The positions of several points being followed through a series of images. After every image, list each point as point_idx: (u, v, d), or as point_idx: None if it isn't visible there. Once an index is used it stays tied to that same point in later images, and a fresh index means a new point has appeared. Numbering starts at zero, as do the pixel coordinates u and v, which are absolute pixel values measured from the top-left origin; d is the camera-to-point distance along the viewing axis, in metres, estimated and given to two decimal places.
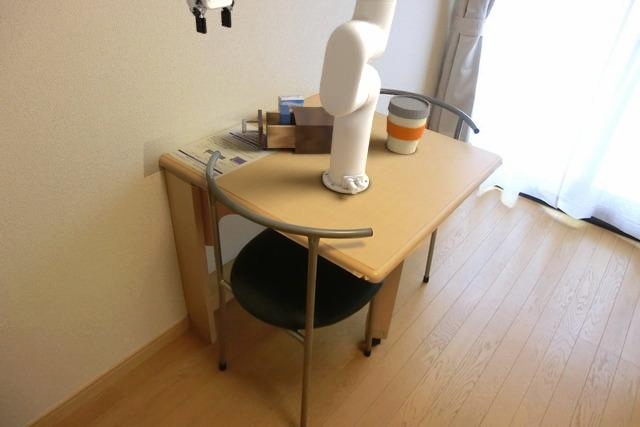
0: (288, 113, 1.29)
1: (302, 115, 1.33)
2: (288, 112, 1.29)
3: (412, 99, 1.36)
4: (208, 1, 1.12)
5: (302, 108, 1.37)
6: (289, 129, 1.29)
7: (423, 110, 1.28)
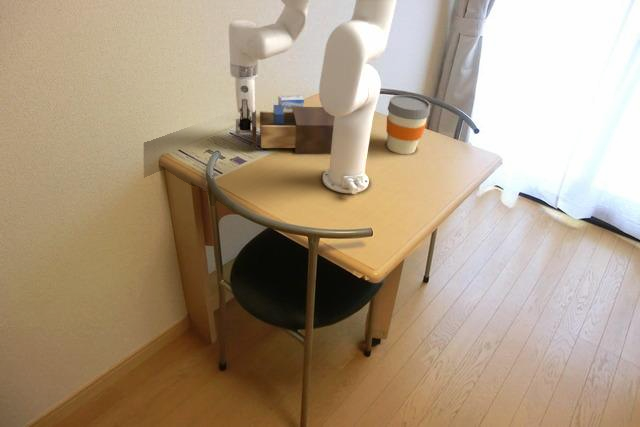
0: (282, 113, 1.28)
1: (302, 115, 1.33)
2: (282, 112, 1.29)
3: (412, 99, 1.36)
4: (254, 106, 1.25)
5: (302, 108, 1.37)
6: (283, 129, 1.28)
7: (423, 110, 1.28)
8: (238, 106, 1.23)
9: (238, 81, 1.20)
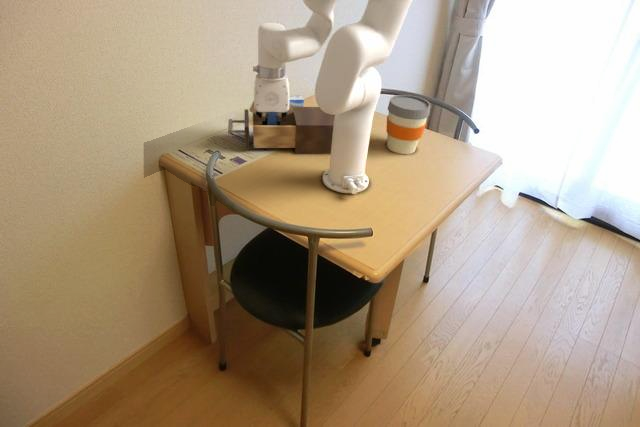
0: (274, 113, 1.28)
1: (302, 115, 1.33)
2: None
3: (412, 99, 1.36)
4: (256, 105, 1.26)
5: (302, 108, 1.37)
6: (275, 129, 1.28)
7: (423, 110, 1.28)
8: None
9: None
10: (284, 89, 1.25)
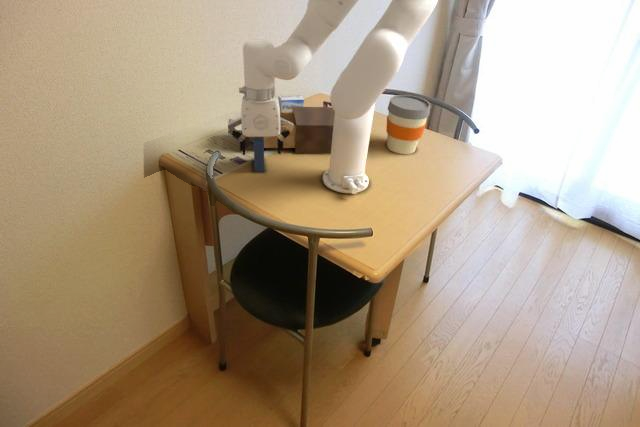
0: (262, 141, 1.18)
1: (302, 115, 1.33)
2: (262, 140, 1.18)
3: (412, 99, 1.36)
4: (244, 129, 1.15)
5: (302, 108, 1.37)
6: None
7: (423, 110, 1.28)
8: None
9: None
10: (274, 111, 1.13)
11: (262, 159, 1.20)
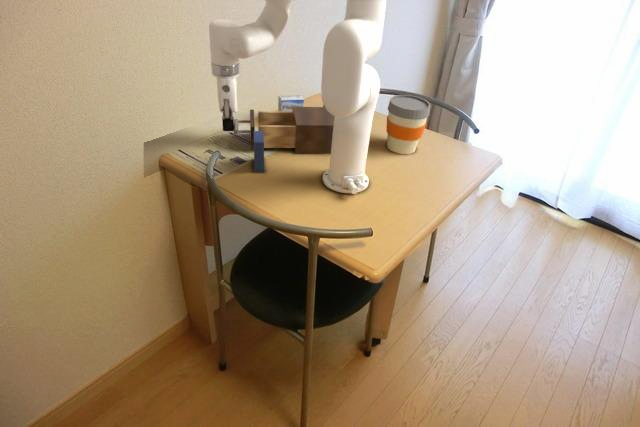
0: (262, 141, 1.18)
1: (302, 115, 1.33)
2: (262, 140, 1.18)
3: (412, 99, 1.36)
4: (236, 106, 1.24)
5: (302, 108, 1.37)
6: (281, 129, 1.28)
7: (423, 110, 1.28)
8: (220, 106, 1.23)
9: (219, 81, 1.19)
10: None
11: (262, 159, 1.20)
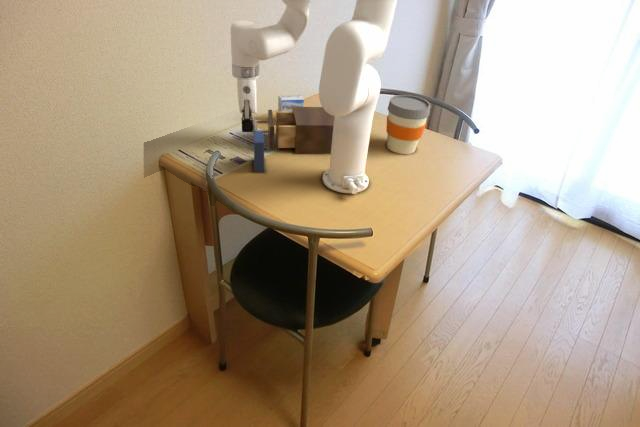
0: (262, 141, 1.18)
1: (302, 115, 1.33)
2: (262, 140, 1.18)
3: (412, 99, 1.36)
4: (256, 107, 1.25)
5: (302, 108, 1.37)
6: None
7: (423, 110, 1.28)
8: (240, 107, 1.23)
9: (240, 82, 1.20)
10: None
11: (262, 159, 1.20)
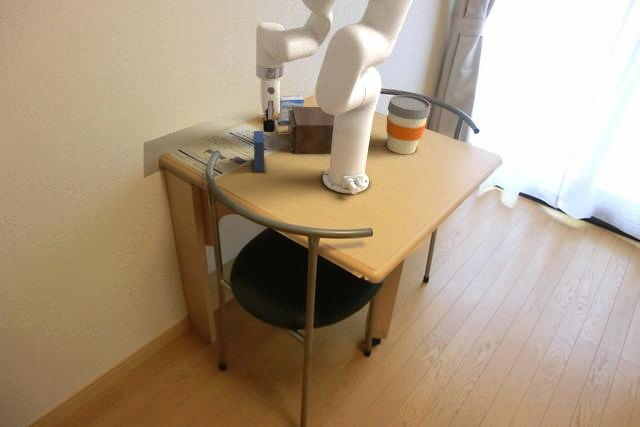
0: (262, 141, 1.18)
1: (302, 115, 1.33)
2: (262, 140, 1.18)
3: (412, 99, 1.36)
4: (279, 108, 1.26)
5: (302, 108, 1.37)
6: None
7: (423, 110, 1.28)
8: (264, 107, 1.24)
9: (265, 83, 1.21)
10: None
11: (262, 159, 1.20)
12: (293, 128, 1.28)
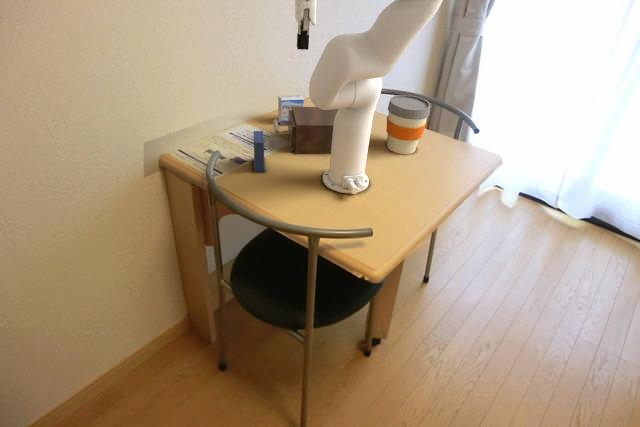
0: (262, 141, 1.18)
1: (302, 115, 1.33)
2: (262, 140, 1.18)
3: (412, 99, 1.36)
4: (315, 18, 1.19)
5: (302, 108, 1.37)
6: None
7: (423, 110, 1.28)
8: (299, 16, 1.17)
9: None
10: None
11: (262, 159, 1.20)
12: (293, 128, 1.28)
